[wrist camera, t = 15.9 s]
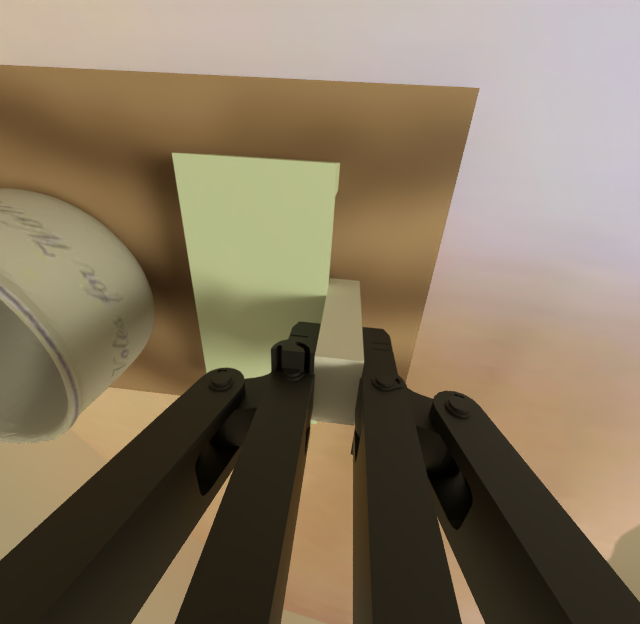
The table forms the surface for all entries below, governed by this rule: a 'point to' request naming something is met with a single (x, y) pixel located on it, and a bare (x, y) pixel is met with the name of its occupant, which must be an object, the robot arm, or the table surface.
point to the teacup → (62, 313)
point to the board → (253, 141)
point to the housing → (255, 250)
